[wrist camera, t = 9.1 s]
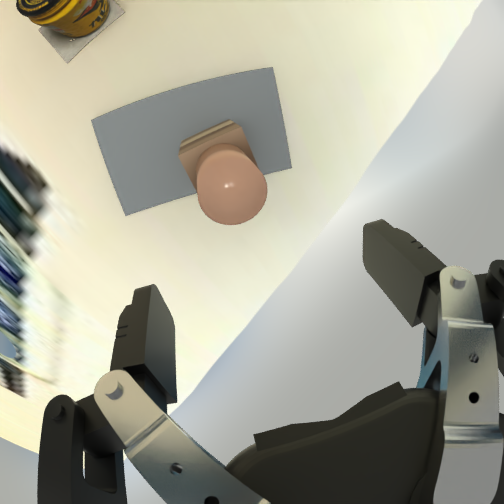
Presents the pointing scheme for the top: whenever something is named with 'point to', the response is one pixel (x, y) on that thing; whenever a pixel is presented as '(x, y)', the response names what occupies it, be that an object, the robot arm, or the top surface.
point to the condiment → (70, 21)
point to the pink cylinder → (229, 185)
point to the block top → (223, 135)
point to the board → (188, 134)
